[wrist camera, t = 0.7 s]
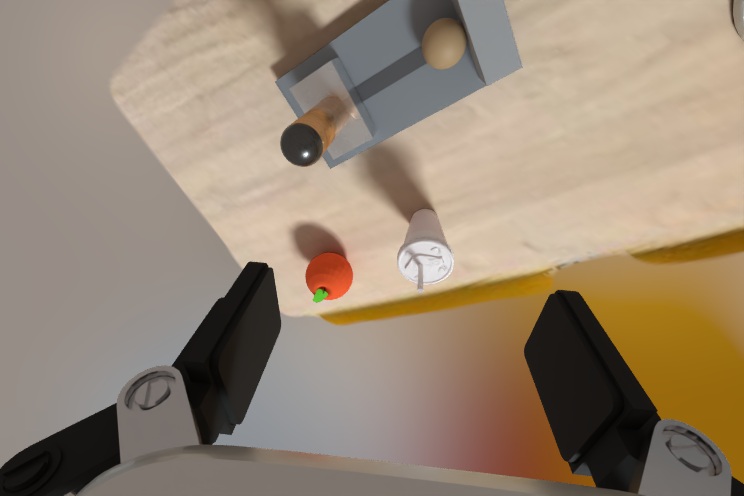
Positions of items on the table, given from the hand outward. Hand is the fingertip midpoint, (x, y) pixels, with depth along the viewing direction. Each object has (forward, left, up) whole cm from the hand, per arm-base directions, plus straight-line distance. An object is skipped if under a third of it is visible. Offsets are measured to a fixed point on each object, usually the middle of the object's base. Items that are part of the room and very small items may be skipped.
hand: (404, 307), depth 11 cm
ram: (+7, -5, -29) cm, 30 cm away
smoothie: (+5, +13, -31) cm, 34 cm away
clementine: (+21, +14, -31) cm, 40 cm away
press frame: (+1, -5, -31) cm, 31 cm away
